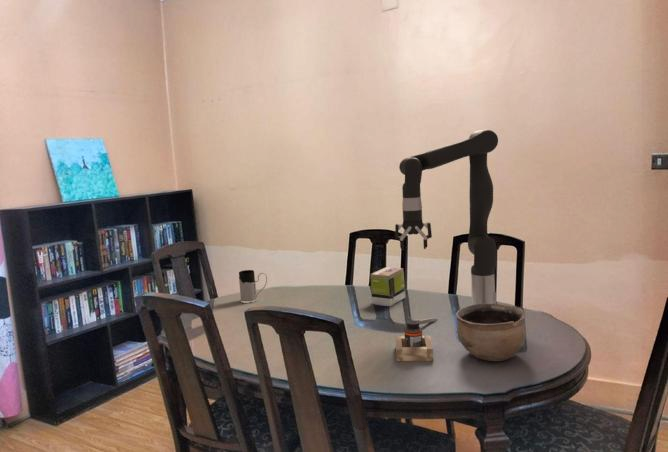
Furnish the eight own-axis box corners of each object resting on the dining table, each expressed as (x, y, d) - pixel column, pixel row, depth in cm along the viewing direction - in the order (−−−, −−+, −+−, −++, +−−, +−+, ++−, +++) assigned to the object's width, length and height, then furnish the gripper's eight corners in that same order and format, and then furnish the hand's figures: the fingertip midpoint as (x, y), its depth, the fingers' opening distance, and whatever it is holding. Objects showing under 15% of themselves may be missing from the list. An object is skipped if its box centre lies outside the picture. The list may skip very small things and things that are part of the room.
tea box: (387, 295, 237) (386, 266, 235) (405, 298, 231) (404, 267, 229) (371, 304, 225) (369, 273, 223) (390, 307, 219) (388, 275, 217)
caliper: (409, 335, 184) (408, 319, 183) (406, 334, 184) (406, 319, 183) (438, 320, 198) (437, 305, 197) (435, 319, 199) (435, 305, 198)
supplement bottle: (403, 351, 169) (402, 319, 167) (420, 349, 169) (419, 318, 168) (407, 357, 163) (406, 325, 161) (425, 356, 163) (423, 323, 162)
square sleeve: (430, 346, 171) (429, 335, 171) (433, 360, 159) (433, 348, 159) (395, 347, 172) (395, 336, 172) (396, 361, 161) (396, 349, 160)
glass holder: (240, 299, 247) (238, 270, 245) (268, 296, 248) (266, 268, 246) (239, 304, 238) (236, 274, 236) (268, 301, 239) (266, 272, 237)
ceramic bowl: (518, 375, 145) (517, 327, 143) (447, 363, 157) (446, 318, 155) (532, 349, 164) (531, 306, 162) (468, 339, 175) (467, 299, 173)
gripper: (429, 206, 194) (431, 246, 196) (393, 208, 195) (395, 248, 197) (431, 208, 186) (432, 250, 188) (394, 210, 188) (396, 251, 190)
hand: (413, 249), depth 193 cm, fingers open, 8 cm apart
